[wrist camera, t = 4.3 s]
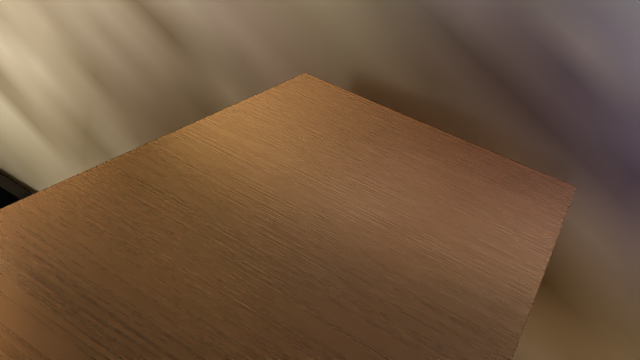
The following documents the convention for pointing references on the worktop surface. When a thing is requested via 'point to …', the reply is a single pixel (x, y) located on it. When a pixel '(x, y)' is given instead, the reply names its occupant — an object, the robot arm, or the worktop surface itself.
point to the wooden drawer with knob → (282, 242)
